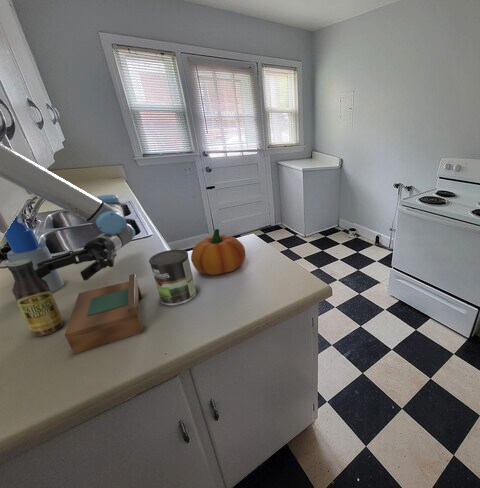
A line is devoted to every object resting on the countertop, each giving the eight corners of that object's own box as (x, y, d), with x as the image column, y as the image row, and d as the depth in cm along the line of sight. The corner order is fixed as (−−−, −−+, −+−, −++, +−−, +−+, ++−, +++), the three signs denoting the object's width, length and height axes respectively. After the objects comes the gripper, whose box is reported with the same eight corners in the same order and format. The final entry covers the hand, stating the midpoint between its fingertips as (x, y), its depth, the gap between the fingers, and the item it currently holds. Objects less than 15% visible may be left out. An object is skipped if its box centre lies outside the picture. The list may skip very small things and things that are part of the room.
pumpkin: (182, 274, 98) (172, 236, 92) (216, 253, 115) (210, 219, 109) (226, 283, 93) (219, 243, 87) (256, 259, 109) (252, 224, 103)
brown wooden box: (74, 354, 64) (60, 327, 61) (86, 310, 79) (76, 287, 76) (143, 331, 71) (134, 307, 68) (142, 295, 86) (135, 273, 83)
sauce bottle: (33, 341, 68) (-5, 272, 60) (32, 329, 72) (-5, 263, 64) (68, 328, 72) (36, 262, 64) (64, 317, 76) (34, 254, 68)
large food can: (177, 309, 80) (166, 267, 74) (153, 301, 83) (140, 261, 78) (204, 290, 89) (195, 252, 83) (180, 284, 92) (170, 247, 86)
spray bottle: (70, 280, 95) (39, 212, 85) (51, 295, 87) (14, 221, 77) (41, 282, 93) (6, 213, 83) (19, 297, 85) (-22, 223, 75)
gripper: (144, 254, 97) (109, 285, 78) (67, 258, 94) (11, 293, 75) (138, 234, 94) (100, 263, 75) (58, 239, 91) (-2, 269, 72)
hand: (56, 278), depth 75 cm, fingers open, 13 cm apart
